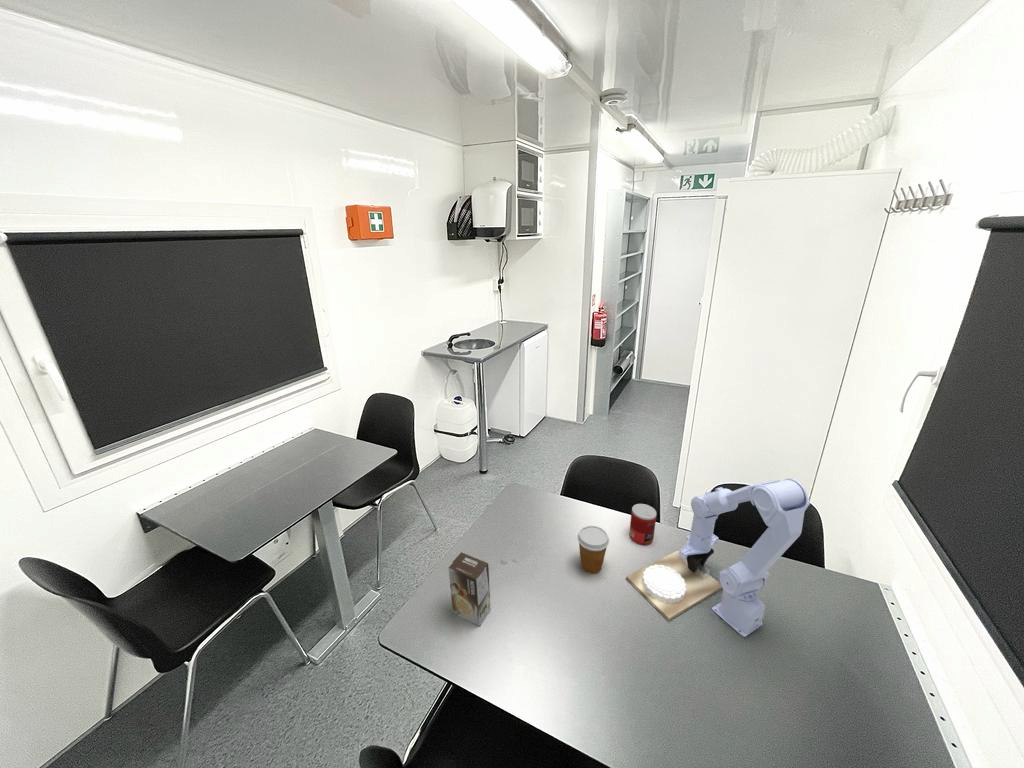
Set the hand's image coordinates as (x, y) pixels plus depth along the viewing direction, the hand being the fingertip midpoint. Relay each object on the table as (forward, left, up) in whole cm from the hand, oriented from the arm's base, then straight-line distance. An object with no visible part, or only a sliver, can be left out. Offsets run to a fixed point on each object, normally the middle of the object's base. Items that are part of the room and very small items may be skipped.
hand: (695, 568), depth 121 cm
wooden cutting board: (0, +9, -2) cm, 9 cm away
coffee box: (+20, +65, -2) cm, 68 cm away
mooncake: (0, +13, -2) cm, 13 cm away
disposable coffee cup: (+17, +26, -2) cm, 31 cm away
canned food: (+19, +3, -2) cm, 19 cm away
